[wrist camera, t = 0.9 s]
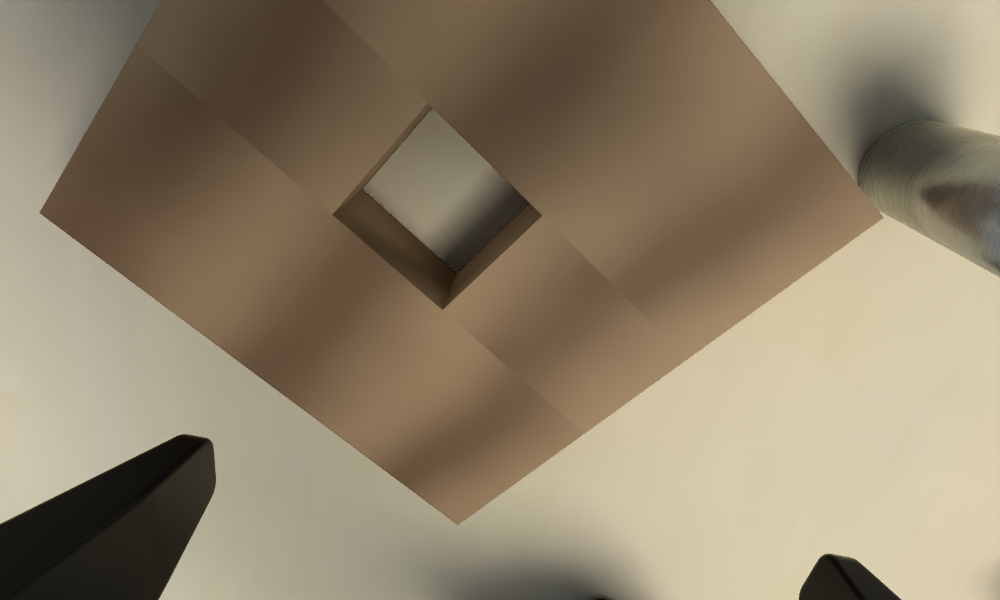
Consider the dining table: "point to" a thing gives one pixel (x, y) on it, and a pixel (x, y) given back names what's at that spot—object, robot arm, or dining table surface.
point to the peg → (939, 186)
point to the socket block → (505, 259)
